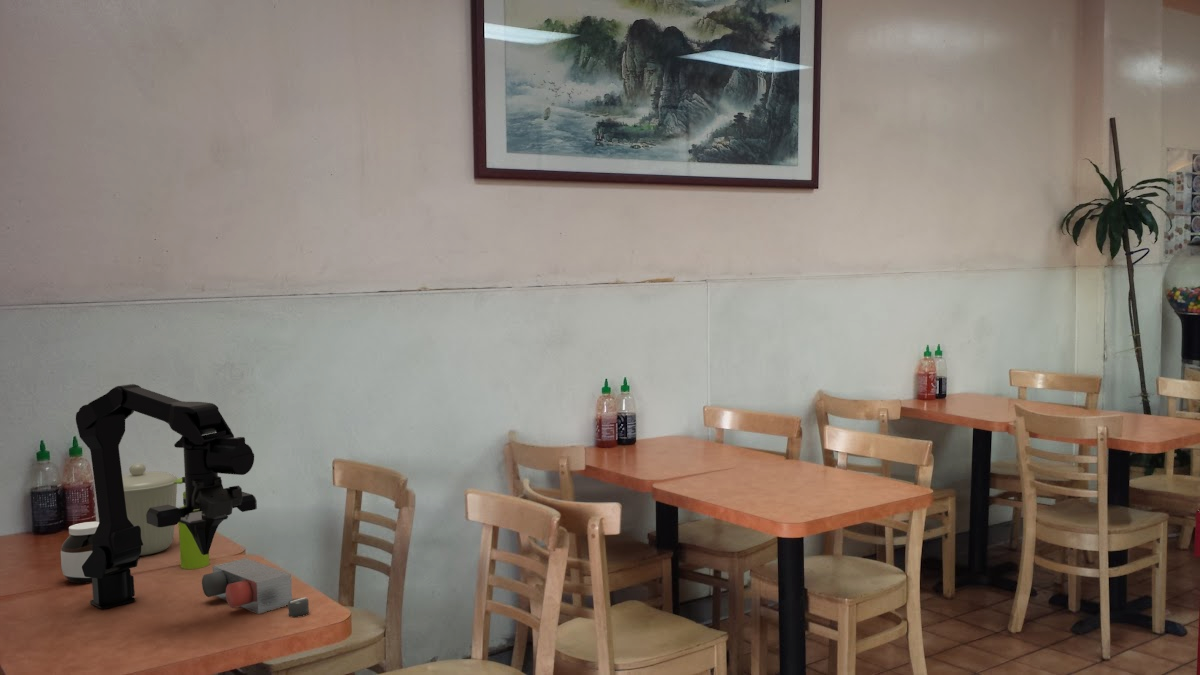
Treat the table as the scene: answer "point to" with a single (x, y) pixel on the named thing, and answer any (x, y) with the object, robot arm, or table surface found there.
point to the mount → (258, 584)
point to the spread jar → (77, 551)
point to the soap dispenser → (189, 546)
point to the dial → (298, 607)
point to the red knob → (239, 593)
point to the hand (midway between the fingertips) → (204, 554)
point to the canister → (149, 504)
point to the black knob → (214, 584)
